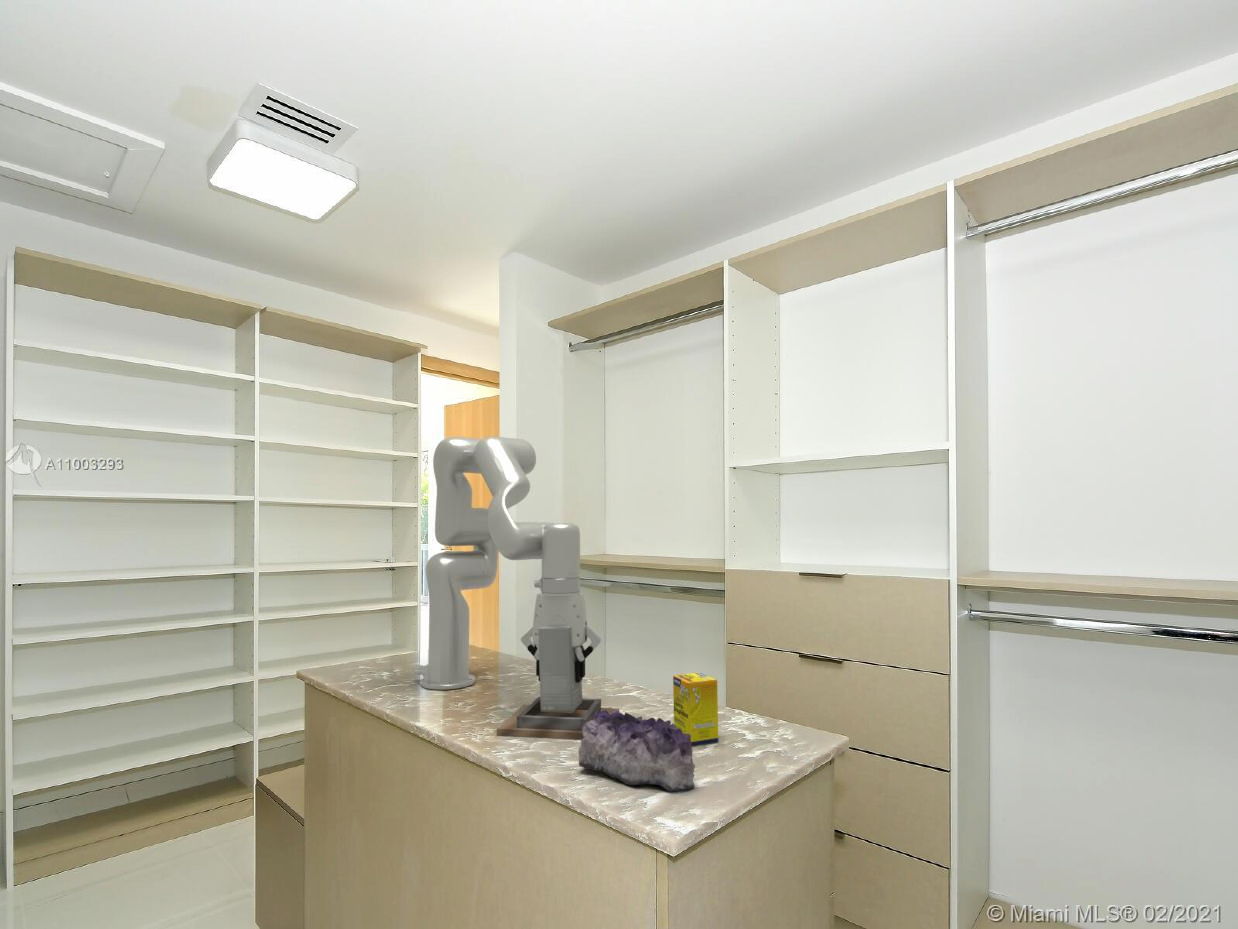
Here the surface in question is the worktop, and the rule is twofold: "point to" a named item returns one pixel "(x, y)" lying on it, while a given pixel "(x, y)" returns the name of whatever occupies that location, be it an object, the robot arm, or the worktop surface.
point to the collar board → (551, 721)
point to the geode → (638, 751)
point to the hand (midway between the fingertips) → (560, 679)
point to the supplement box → (696, 707)
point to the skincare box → (558, 671)
